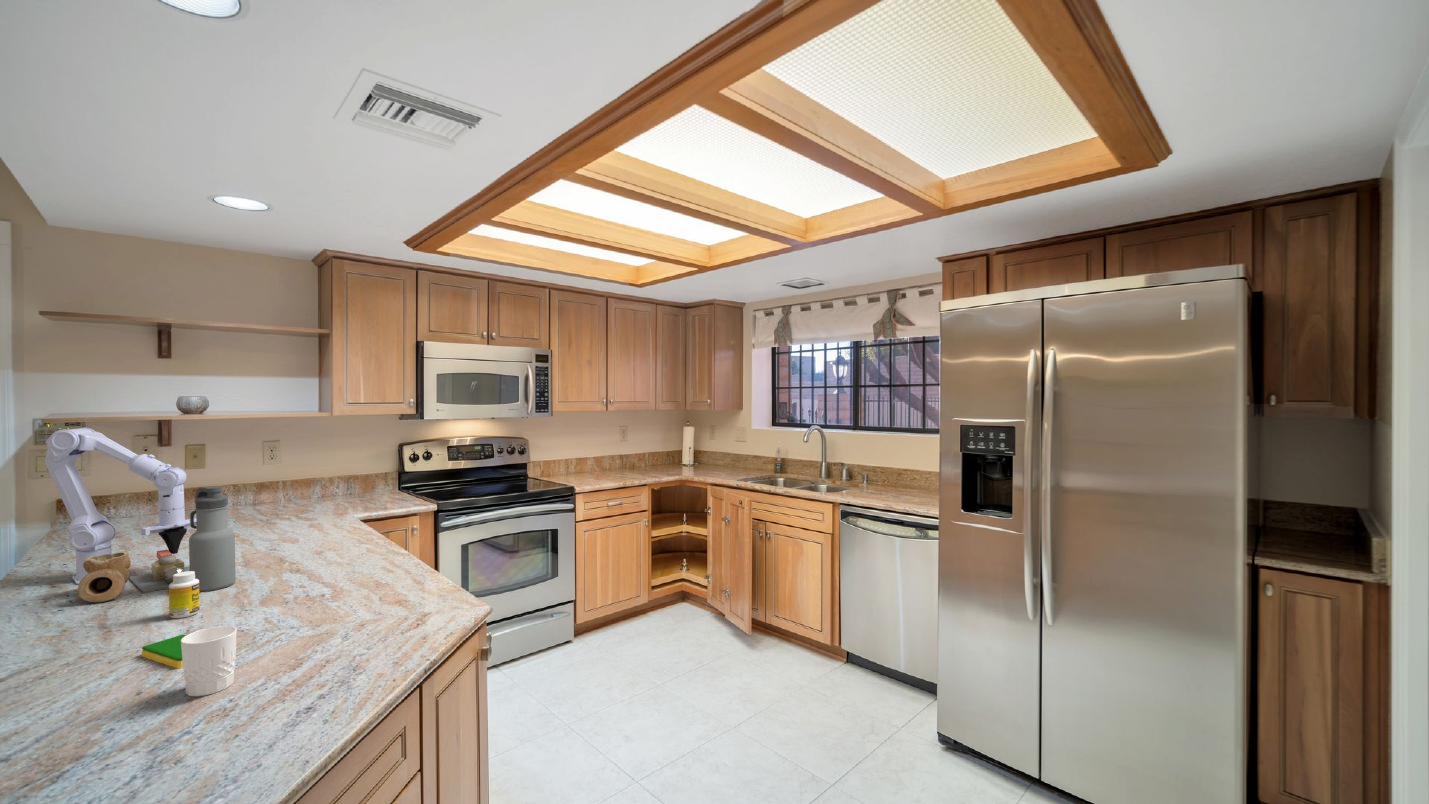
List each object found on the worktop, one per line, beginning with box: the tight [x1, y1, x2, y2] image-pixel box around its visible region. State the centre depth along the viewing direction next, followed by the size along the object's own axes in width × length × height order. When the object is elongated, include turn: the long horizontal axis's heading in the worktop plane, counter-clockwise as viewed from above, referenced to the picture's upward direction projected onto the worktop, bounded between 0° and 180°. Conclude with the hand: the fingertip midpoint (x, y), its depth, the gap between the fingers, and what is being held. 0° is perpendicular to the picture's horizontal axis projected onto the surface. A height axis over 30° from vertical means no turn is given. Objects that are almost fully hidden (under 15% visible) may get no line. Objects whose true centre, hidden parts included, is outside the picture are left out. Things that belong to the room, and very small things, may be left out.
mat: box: [128, 565, 190, 594], centre depth 173 cm, size 20×17×1 cm
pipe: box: [77, 551, 131, 603], centre depth 158 cm, size 9×16×10 cm, turn 40°
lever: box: [156, 549, 177, 564], centre depth 175 cm, size 12×4×2 cm, turn 50°
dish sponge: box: [141, 634, 187, 669], centre depth 123 cm, size 7×14×2 cm, turn 67°
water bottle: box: [188, 485, 237, 593], centre depth 165 cm, size 10×10×28 cm
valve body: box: [151, 558, 185, 585], centre depth 172 cm, size 16×6×5 cm, turn 53°
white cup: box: [181, 625, 238, 697], centre depth 110 cm, size 8×8×10 cm
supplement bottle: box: [168, 571, 201, 619], centre depth 145 cm, size 6×6×10 cm
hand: (173, 553), depth 178 cm, fingers closed
